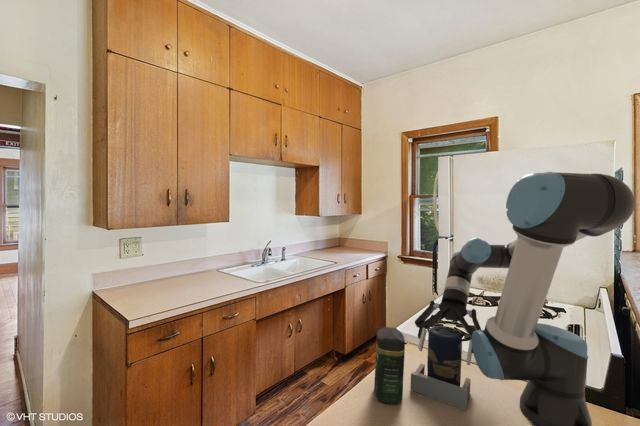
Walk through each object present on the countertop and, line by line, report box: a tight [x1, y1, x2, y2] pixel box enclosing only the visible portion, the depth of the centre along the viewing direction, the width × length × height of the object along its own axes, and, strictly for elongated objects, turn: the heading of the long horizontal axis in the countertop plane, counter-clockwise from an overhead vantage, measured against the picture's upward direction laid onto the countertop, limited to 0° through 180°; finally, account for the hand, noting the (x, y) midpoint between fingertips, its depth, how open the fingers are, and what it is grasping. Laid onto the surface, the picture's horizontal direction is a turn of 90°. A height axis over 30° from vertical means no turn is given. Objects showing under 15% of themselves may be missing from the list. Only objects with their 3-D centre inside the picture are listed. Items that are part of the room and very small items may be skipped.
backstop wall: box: [409, 370, 468, 411], centre depth 89 cm, size 15×2×5 cm, turn 56°
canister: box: [426, 325, 463, 387], centre depth 95 cm, size 10×10×18 cm
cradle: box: [414, 363, 472, 401], centre depth 93 cm, size 14×8×4 cm, turn 56°
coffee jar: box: [373, 326, 406, 405], centre depth 90 cm, size 10×8×19 cm
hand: (443, 356), depth 93 cm, fingers open, 13 cm apart
